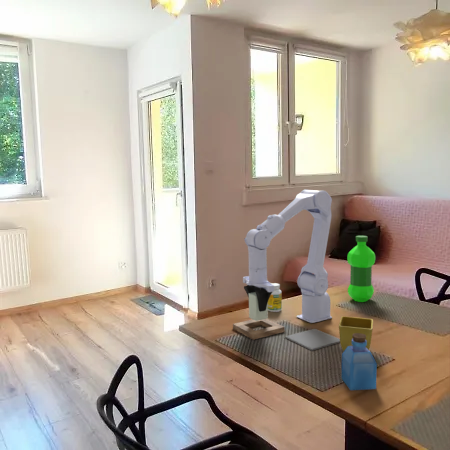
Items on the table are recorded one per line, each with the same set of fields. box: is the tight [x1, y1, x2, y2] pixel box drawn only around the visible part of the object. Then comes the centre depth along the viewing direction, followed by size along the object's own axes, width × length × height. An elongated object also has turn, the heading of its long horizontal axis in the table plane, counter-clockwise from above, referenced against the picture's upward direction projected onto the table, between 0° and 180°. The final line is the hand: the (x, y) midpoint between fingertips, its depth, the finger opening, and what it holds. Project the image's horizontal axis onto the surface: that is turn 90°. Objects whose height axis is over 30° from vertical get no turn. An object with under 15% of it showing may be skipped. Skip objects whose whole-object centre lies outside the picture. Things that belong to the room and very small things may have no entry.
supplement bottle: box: [268, 282, 283, 313], centre depth 167 cm, size 5×5×10 cm
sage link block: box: [248, 292, 269, 321], centre depth 146 cm, size 4×4×8 cm
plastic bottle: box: [347, 235, 376, 303], centre depth 176 cm, size 10×10×25 cm
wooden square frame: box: [232, 318, 286, 341], centre depth 147 cm, size 12×12×2 cm
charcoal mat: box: [285, 328, 341, 351], centre depth 138 cm, size 12×12×1 cm
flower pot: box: [338, 315, 374, 352], centre depth 127 cm, size 9×9×9 cm
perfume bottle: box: [341, 333, 378, 391], centre depth 109 cm, size 6×6×12 cm
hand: (258, 309), depth 146 cm, fingers closed on sage link block, 4 cm apart
